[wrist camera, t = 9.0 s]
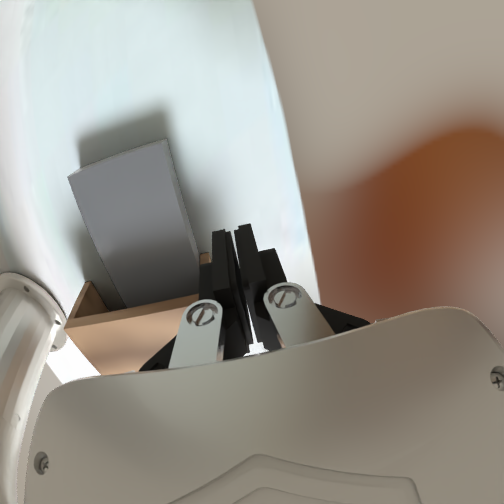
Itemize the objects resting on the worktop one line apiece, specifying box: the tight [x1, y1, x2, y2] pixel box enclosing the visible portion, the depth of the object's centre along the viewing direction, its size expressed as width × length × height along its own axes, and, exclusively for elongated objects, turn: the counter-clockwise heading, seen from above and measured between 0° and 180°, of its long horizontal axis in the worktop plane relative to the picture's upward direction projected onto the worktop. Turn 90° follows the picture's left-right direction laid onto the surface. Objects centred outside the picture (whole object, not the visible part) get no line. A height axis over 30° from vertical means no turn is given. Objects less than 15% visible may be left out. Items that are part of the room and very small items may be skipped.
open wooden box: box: [64, 252, 211, 375], centre depth 25 cm, size 10×14×7 cm
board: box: [68, 138, 200, 308], centre depth 23 cm, size 16×8×3 cm, turn 9°
